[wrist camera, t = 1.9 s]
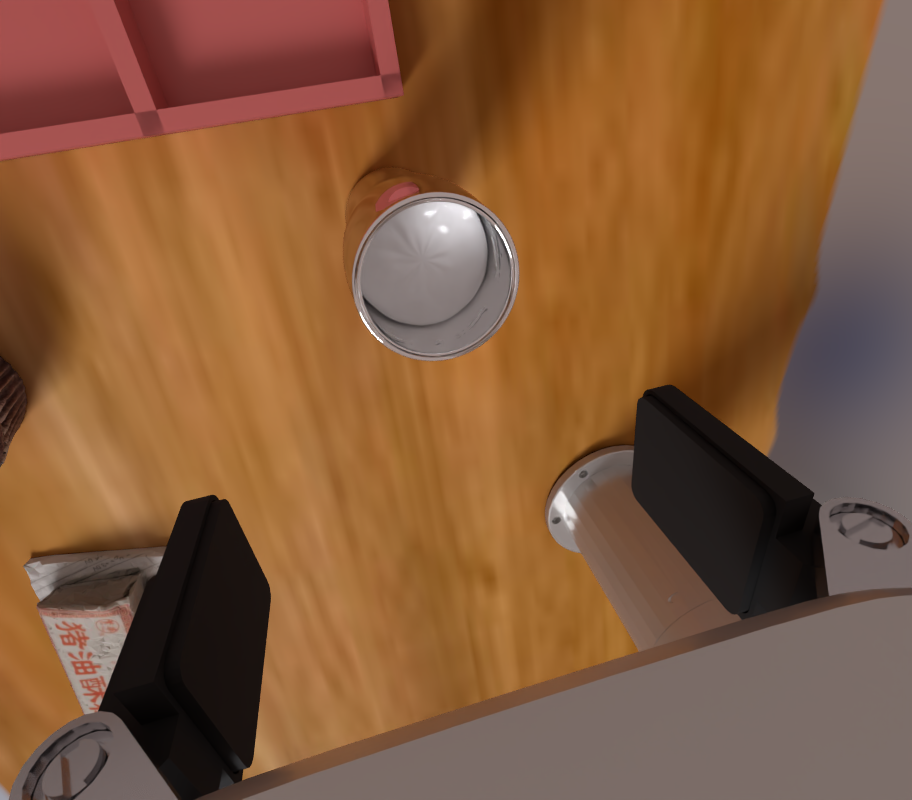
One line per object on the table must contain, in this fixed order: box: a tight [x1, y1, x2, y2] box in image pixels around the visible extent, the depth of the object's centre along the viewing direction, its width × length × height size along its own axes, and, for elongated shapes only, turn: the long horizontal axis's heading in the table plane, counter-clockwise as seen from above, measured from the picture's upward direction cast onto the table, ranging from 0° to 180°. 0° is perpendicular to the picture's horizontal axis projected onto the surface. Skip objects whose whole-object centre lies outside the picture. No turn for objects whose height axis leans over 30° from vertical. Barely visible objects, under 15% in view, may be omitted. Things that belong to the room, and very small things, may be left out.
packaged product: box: [23, 546, 167, 715], centre depth 41 cm, size 18×5×10 cm
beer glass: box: [343, 167, 519, 361], centre depth 25 cm, size 7×7×15 cm
